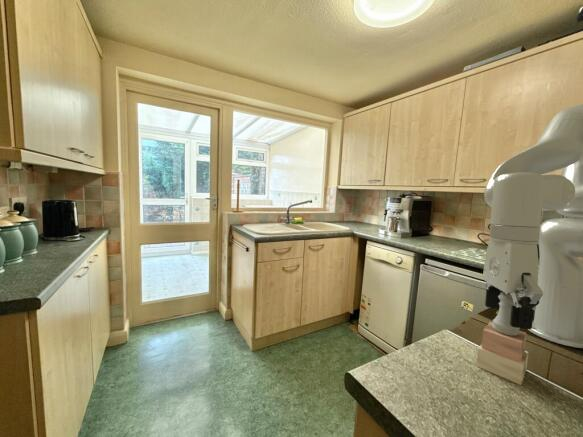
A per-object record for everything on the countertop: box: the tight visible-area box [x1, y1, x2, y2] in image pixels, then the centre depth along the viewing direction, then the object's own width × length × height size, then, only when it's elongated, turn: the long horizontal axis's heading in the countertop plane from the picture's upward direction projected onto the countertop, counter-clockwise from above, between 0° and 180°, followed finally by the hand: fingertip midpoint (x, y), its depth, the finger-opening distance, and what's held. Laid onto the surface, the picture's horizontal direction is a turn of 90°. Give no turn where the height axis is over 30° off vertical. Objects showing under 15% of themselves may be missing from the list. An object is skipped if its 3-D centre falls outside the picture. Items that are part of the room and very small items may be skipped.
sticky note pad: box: [476, 321, 529, 386], centre depth 52 cm, size 7×7×8 cm
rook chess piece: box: [492, 292, 521, 336], centre depth 51 cm, size 4×4×8 cm
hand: (505, 316), depth 51 cm, fingers open, 9 cm apart
